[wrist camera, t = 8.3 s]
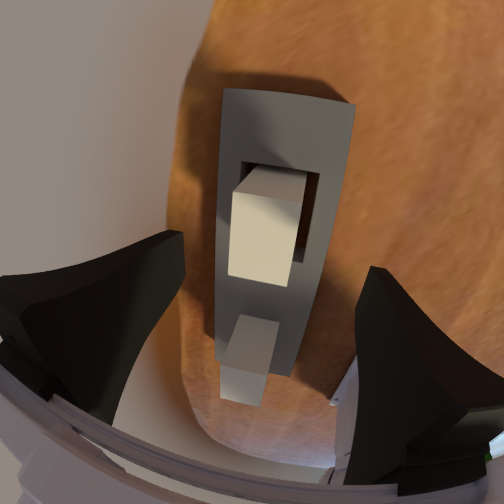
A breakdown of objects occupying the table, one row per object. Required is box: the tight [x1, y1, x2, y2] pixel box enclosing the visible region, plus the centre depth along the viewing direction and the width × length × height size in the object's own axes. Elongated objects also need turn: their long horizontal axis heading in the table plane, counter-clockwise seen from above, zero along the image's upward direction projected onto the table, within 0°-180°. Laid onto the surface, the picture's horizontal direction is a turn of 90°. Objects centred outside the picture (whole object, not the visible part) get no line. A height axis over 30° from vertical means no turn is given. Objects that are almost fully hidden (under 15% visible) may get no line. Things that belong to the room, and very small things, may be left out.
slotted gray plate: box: [215, 88, 356, 407], centre depth 17 cm, size 22×7×7 cm, turn 175°
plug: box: [228, 163, 308, 287], centre depth 15 cm, size 4×3×6 cm
